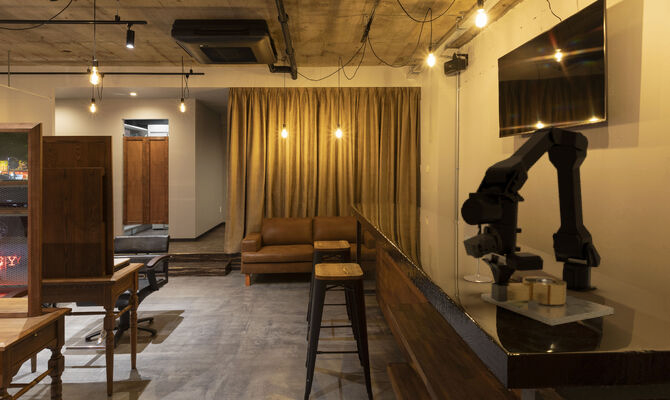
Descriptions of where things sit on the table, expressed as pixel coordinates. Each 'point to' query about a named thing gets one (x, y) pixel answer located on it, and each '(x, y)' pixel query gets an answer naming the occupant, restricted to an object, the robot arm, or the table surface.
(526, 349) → the table surface
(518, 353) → the table surface
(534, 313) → the post base
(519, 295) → the octagonal ring with handle
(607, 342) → the table surface
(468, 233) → the wineglass
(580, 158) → the robot arm
